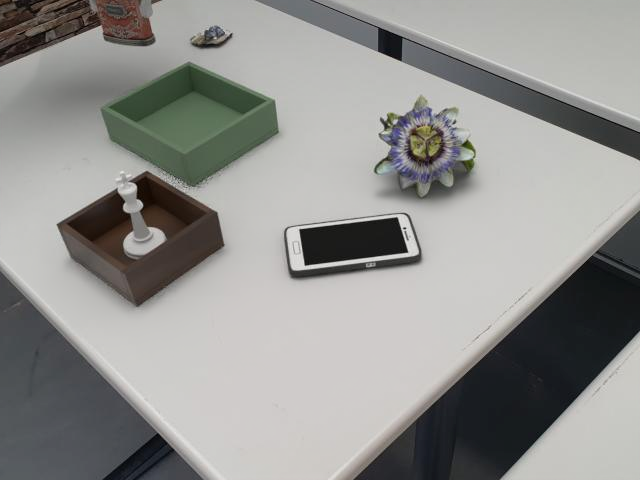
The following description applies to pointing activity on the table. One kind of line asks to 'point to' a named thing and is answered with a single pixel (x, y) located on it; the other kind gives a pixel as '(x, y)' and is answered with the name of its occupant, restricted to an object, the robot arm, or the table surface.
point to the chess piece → (137, 222)
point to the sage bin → (191, 121)
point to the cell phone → (351, 244)
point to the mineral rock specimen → (210, 36)
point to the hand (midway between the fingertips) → (122, 13)
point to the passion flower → (425, 147)
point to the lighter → (124, 23)
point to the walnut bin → (159, 212)
